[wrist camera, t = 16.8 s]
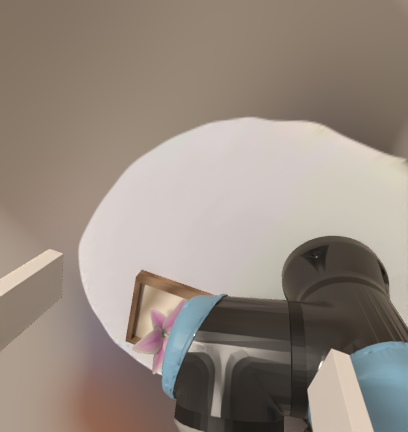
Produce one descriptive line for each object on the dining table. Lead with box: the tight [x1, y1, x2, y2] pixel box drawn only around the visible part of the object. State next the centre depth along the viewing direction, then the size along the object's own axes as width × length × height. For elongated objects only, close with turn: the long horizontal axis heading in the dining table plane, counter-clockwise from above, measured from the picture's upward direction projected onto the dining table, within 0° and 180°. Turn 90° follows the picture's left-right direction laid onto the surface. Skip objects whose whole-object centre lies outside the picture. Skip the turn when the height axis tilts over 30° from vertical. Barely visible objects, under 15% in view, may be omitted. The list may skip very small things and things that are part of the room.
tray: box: [126, 270, 215, 345], centre depth 53 cm, size 30×16×2 cm, turn 76°
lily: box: [132, 299, 186, 374], centre depth 50 cm, size 12×12×10 cm
